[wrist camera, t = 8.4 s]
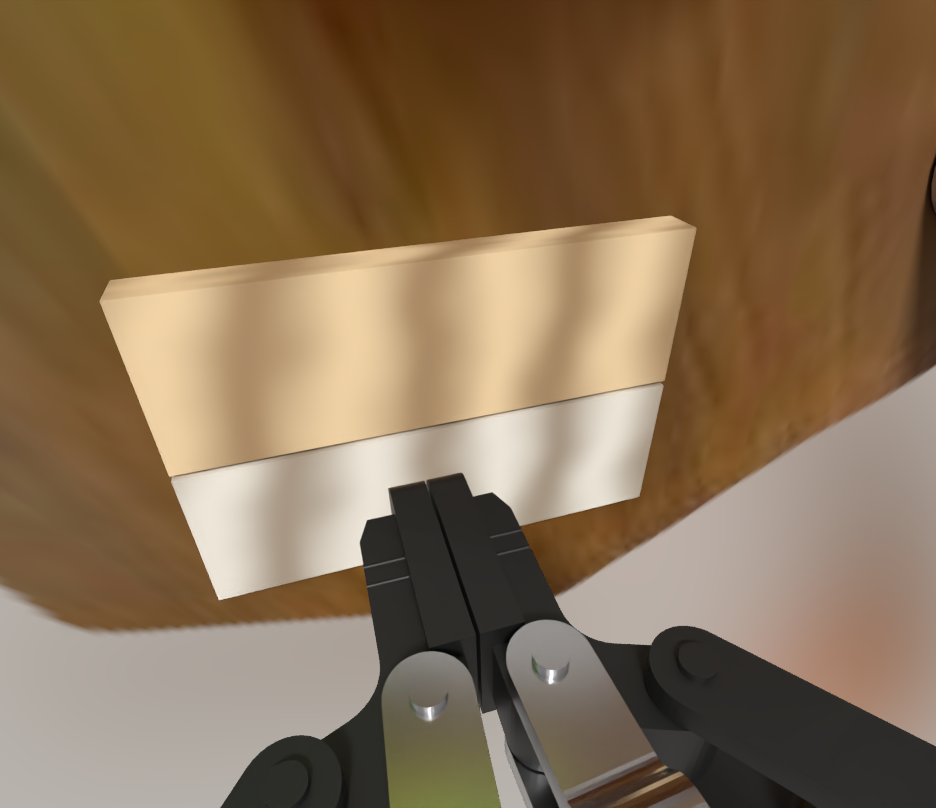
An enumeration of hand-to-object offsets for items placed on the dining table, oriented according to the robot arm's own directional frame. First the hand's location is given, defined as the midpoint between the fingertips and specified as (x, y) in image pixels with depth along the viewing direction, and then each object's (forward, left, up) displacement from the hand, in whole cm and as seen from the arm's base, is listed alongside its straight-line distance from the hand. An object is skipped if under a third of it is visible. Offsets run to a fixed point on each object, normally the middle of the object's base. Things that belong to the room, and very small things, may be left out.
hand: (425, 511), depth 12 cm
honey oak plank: (-4, +4, -15) cm, 16 cm away
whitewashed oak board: (-4, +12, -15) cm, 20 cm away
